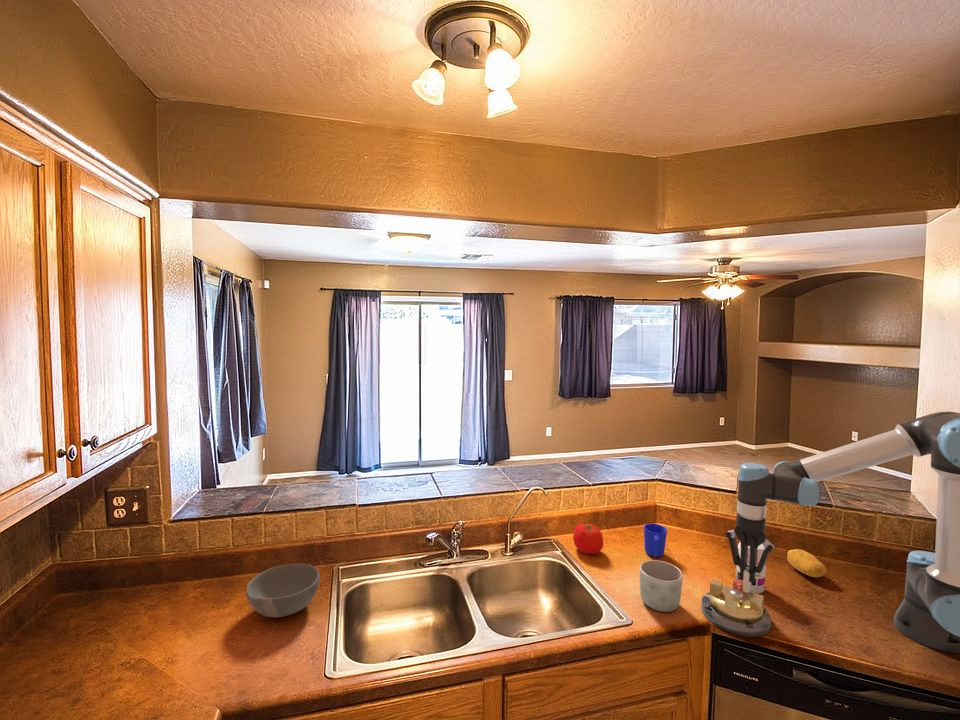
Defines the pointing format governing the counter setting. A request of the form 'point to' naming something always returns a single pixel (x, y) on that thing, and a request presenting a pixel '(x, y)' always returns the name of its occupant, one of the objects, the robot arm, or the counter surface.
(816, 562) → the potato
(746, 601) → the brass disc with cubes
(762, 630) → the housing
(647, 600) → the planter
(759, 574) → the supplement can
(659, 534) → the mug
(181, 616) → the counter surface
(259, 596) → the bowl
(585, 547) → the tomato
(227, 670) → the counter surface
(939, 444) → the robot arm
